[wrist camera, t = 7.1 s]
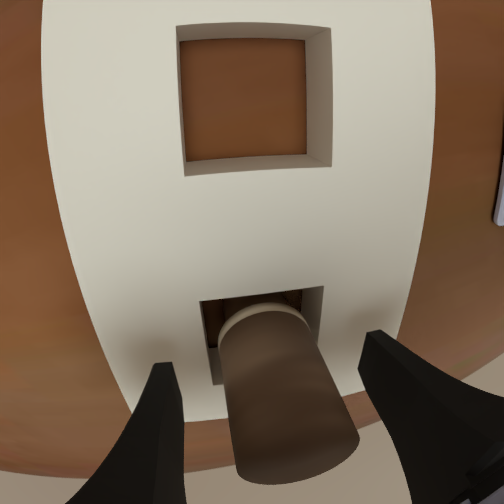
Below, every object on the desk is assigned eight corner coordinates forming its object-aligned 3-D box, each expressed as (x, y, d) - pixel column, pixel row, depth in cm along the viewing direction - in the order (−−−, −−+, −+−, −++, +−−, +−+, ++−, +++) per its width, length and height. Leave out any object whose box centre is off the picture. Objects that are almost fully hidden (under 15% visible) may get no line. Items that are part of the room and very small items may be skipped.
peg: (294, 265, 14) (374, 411, 7) (289, 330, 16) (345, 470, 9) (210, 273, 14) (232, 440, 7) (216, 338, 15) (238, 491, 8)
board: (391, -20, 9) (425, -33, 7) (362, 356, 18) (380, 385, 16) (71, -21, 7) (48, -42, 5) (140, 388, 16) (137, 424, 14)
